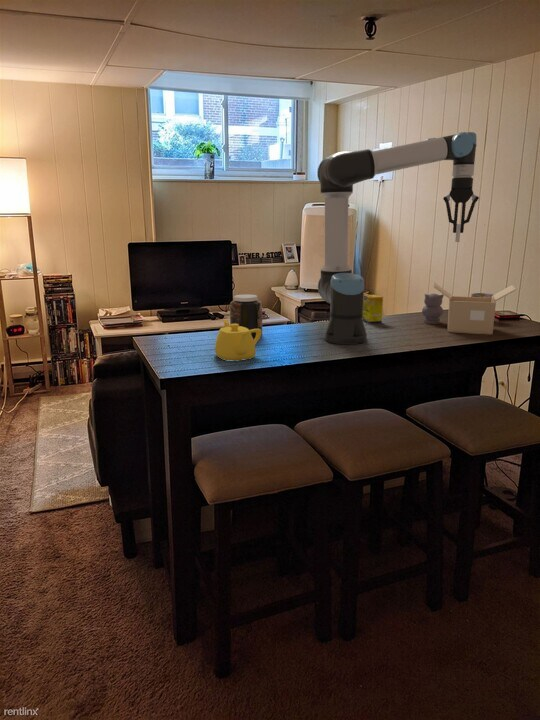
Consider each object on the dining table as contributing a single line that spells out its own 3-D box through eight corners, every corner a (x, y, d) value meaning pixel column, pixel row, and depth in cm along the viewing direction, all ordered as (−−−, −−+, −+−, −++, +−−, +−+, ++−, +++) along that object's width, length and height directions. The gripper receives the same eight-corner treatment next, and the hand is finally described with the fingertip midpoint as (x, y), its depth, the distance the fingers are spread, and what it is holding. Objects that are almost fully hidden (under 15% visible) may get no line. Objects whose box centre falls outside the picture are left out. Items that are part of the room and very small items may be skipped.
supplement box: (362, 320, 232) (363, 295, 229) (375, 320, 234) (376, 294, 231) (368, 323, 227) (370, 297, 224) (381, 322, 228) (383, 296, 225)
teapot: (274, 362, 173) (274, 328, 170) (226, 367, 167) (225, 333, 164) (250, 346, 192) (250, 315, 189) (207, 350, 187) (206, 319, 184)
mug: (497, 320, 230) (499, 295, 228) (479, 322, 227) (481, 297, 224) (477, 315, 241) (479, 291, 238) (460, 317, 238) (462, 292, 235)
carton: (447, 332, 211) (450, 301, 208) (447, 325, 222) (449, 296, 219) (492, 334, 207) (495, 303, 203) (489, 327, 218) (492, 297, 215)
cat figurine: (441, 320, 231) (443, 292, 228) (443, 324, 224) (446, 295, 221) (420, 320, 233) (422, 291, 229) (422, 324, 225) (424, 294, 222)
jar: (243, 340, 200) (242, 299, 195) (224, 335, 208) (223, 295, 204) (268, 335, 207) (268, 296, 203) (249, 330, 215) (248, 292, 211)
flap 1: (452, 299, 208) (451, 300, 208) (451, 294, 218) (450, 295, 218) (434, 285, 208) (433, 287, 209) (434, 282, 218) (433, 283, 219)
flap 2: (491, 296, 214) (491, 297, 214) (494, 300, 204) (494, 301, 204) (511, 284, 211) (512, 285, 211) (515, 288, 201) (516, 290, 201)
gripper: (444, 177, 204) (439, 242, 210) (481, 176, 200) (475, 242, 206) (444, 177, 210) (439, 240, 217) (480, 177, 207) (475, 241, 213)
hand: (457, 241), depth 212 cm, fingers closed
